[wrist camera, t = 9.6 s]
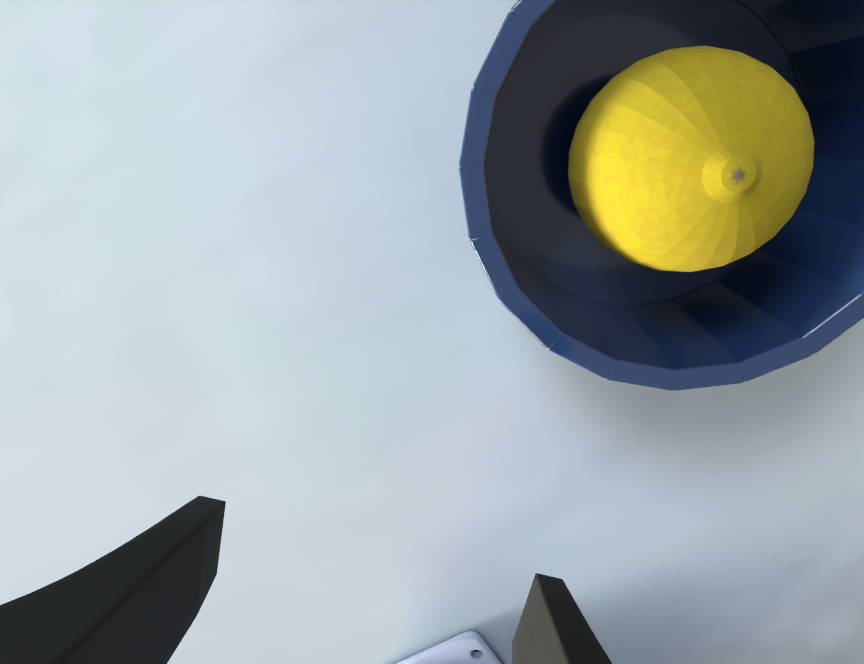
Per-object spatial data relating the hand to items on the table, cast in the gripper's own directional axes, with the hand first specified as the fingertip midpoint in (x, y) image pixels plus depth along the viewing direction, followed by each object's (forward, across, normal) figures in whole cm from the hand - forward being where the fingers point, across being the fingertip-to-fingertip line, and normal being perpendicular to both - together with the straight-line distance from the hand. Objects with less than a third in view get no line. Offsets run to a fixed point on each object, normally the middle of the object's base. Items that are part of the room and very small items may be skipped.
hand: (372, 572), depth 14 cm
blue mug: (+10, -6, -12) cm, 17 cm away
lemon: (+10, -5, -10) cm, 15 cm away
